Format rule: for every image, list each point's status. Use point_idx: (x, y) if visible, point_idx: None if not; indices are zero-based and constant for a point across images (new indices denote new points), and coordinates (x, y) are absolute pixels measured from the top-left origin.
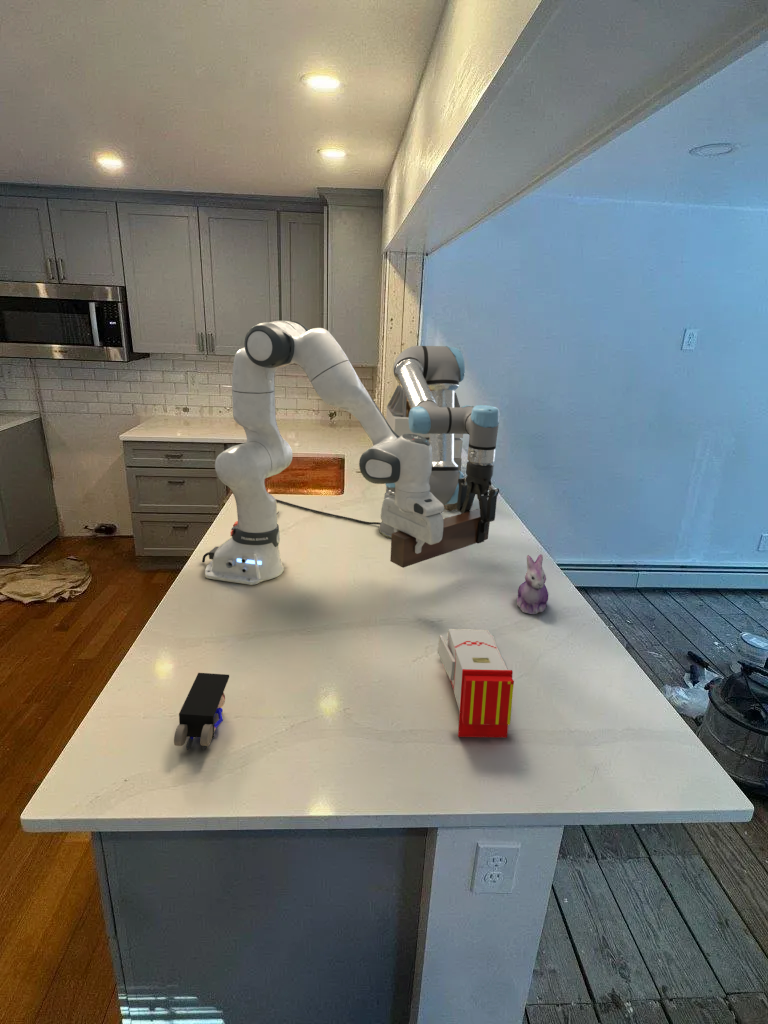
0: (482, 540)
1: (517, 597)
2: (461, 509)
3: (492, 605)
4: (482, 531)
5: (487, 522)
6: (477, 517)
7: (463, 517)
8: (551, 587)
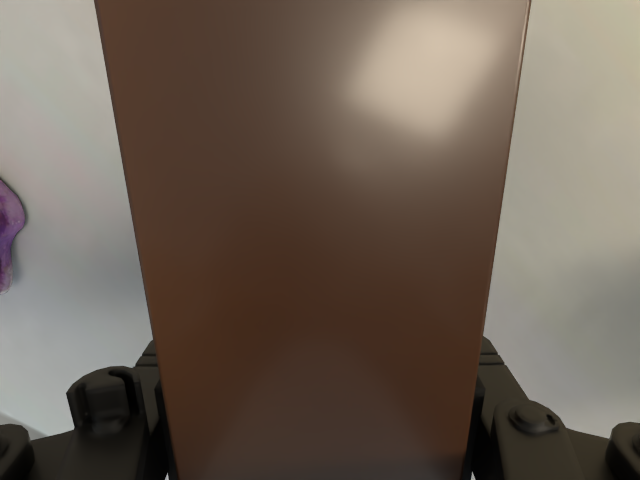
0: None
1: (2, 195)
2: (597, 474)
3: (31, 61)
4: None
5: (7, 425)
6: (175, 425)
7: (306, 223)
8: (60, 393)
